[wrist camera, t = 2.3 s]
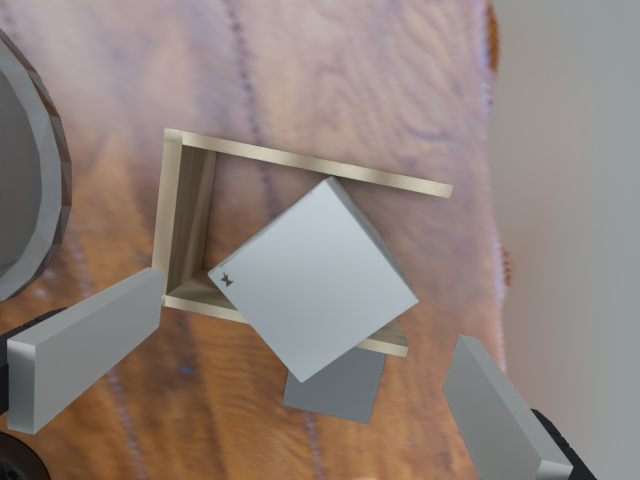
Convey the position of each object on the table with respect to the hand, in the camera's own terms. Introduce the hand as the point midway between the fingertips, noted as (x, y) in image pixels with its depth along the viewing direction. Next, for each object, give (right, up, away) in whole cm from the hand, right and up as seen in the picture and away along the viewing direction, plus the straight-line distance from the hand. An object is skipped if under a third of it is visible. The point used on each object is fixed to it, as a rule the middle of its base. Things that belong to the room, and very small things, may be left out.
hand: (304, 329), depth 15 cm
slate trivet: (+2, -11, +25) cm, 27 cm away
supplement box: (+1, +4, +22) cm, 22 cm away
